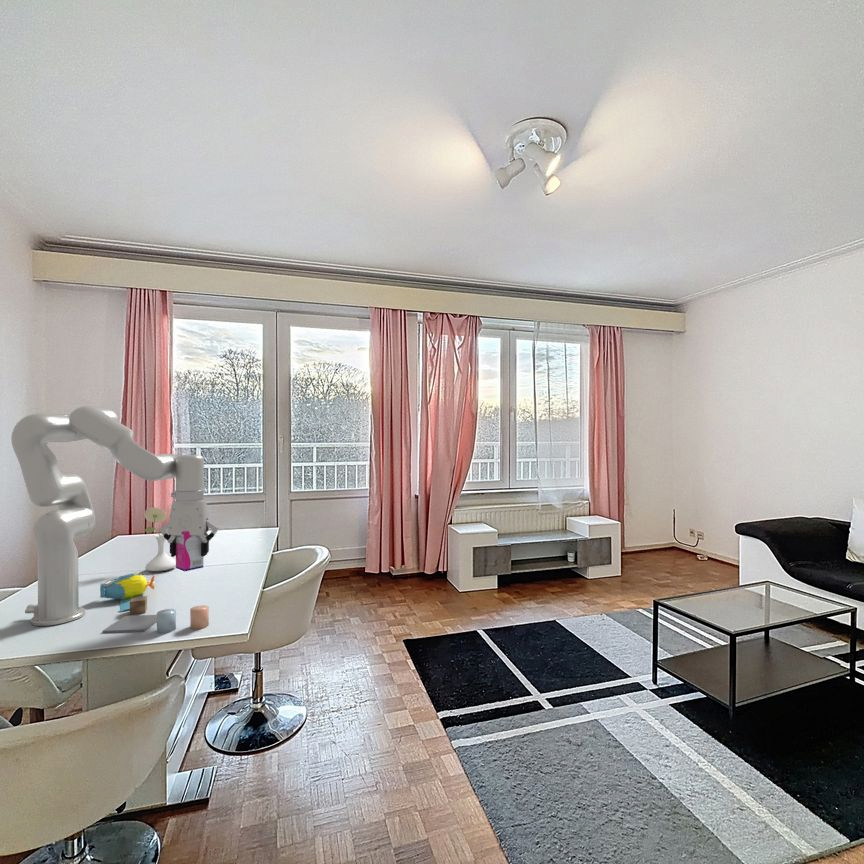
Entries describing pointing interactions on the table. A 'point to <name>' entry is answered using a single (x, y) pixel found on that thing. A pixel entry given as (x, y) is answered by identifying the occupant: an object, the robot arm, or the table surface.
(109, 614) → the table surface
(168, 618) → the pale blue dome knob
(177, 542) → the supplement box
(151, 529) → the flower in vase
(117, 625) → the coaster
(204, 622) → the peach dome cap
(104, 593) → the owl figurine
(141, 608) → the walnut block
